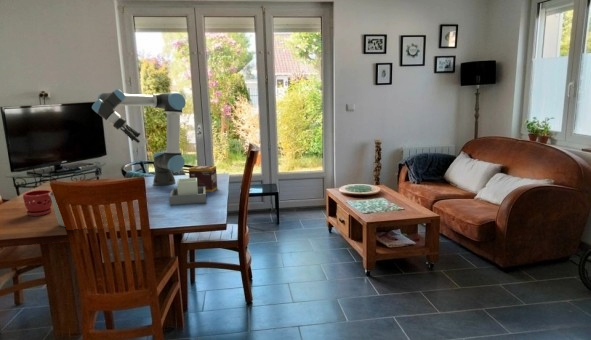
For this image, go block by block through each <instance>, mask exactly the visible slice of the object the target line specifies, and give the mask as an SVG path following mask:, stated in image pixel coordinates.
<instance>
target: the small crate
mask: <svg viewBox="0 0 591 340" xmlns="http://www.w3.org/2000/svg"><path fill="white" fill-rule="evenodd" d="M177 188H178V195H191V194H198V186H197V178H189V177H188V178H178V179H177V182H176V189H177Z"/></svg>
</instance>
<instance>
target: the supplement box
mask: <svg viewBox="0 0 591 340" xmlns="http://www.w3.org/2000/svg"><path fill="white" fill-rule="evenodd" d="M188 178H197V186H198V187H205V190H206V193H213V192H214V191H215V190H218V176H217V165H194V166H191V167H189V168H188Z"/></svg>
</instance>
